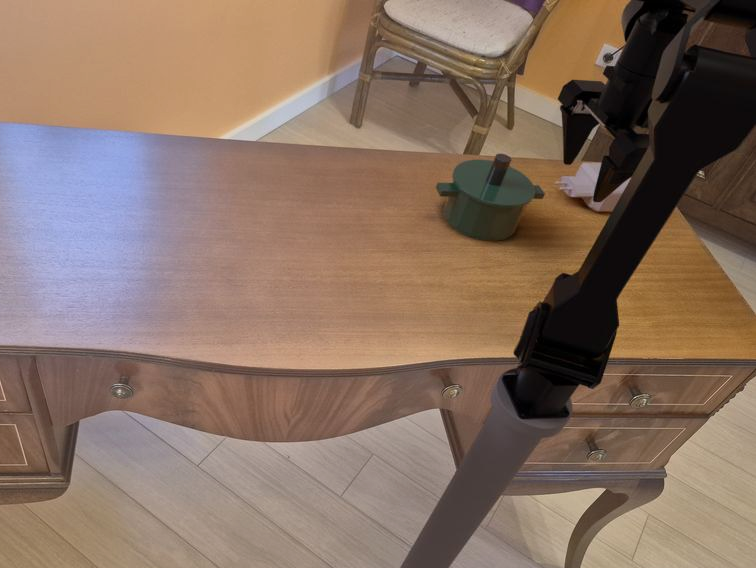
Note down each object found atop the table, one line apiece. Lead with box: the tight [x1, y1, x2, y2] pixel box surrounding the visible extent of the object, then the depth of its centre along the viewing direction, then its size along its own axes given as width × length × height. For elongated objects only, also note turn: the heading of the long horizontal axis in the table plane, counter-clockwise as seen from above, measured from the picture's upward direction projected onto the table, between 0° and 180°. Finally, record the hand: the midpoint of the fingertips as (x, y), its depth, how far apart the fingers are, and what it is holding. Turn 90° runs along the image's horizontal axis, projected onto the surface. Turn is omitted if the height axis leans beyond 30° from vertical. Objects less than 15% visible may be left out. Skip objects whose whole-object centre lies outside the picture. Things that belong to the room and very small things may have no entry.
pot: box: [435, 180, 546, 242], centre depth 96 cm, size 12×17×6 cm
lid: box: [452, 153, 535, 208], centre depth 93 cm, size 13×13×5 cm
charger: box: [554, 162, 631, 213], centre depth 105 cm, size 5×9×15 cm
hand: (581, 182), depth 84 cm, fingers open, 9 cm apart
